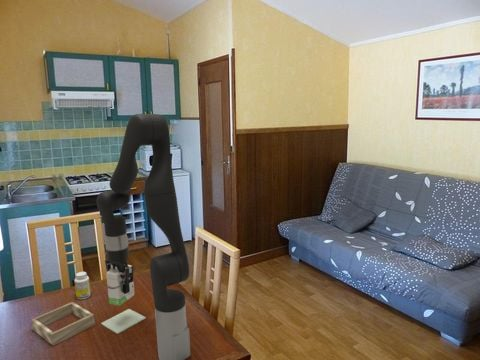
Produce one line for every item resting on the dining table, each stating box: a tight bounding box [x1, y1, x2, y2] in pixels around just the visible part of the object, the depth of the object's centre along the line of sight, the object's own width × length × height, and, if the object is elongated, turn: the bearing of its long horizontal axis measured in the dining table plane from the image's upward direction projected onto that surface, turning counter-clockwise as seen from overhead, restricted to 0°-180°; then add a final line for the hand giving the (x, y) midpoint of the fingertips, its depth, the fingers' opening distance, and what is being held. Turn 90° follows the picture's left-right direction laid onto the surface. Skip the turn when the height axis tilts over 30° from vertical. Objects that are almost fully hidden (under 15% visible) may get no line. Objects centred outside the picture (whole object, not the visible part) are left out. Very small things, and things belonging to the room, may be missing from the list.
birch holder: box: [30, 301, 96, 346], centre depth 134 cm, size 15×15×4 cm
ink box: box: [105, 264, 135, 306], centre depth 135 cm, size 9×5×12 cm, turn 159°
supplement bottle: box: [73, 271, 92, 300], centre depth 155 cm, size 6×6×10 cm
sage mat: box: [100, 308, 146, 335], centre depth 138 cm, size 10×12×1 cm
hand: (121, 290), depth 135 cm, fingers closed on ink box, 6 cm apart
